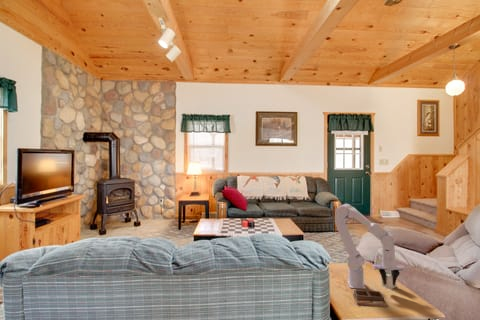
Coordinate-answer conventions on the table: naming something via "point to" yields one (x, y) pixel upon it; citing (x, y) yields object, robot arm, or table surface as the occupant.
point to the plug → (389, 281)
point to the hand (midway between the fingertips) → (388, 284)
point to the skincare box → (390, 274)
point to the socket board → (369, 298)
